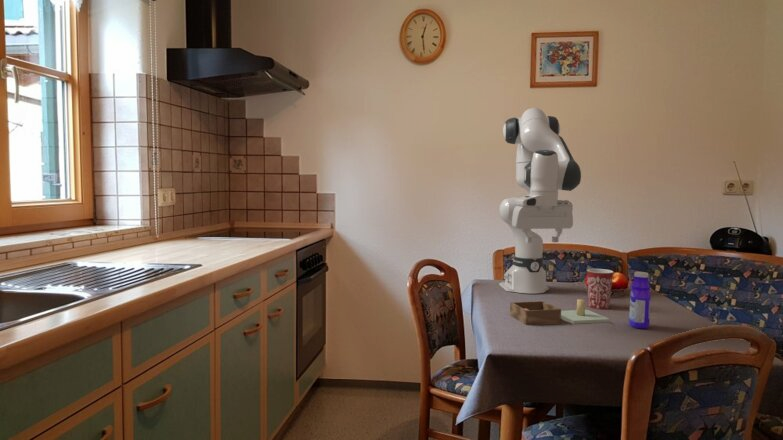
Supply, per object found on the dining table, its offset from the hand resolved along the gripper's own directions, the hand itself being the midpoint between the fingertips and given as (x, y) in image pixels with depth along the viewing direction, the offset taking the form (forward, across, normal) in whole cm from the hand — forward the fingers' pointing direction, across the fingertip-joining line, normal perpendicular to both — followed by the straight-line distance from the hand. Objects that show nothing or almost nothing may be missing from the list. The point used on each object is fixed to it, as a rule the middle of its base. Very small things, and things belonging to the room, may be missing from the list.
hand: (541, 242), depth 182 cm
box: (+26, +2, +2) cm, 26 cm away
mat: (+26, -14, +2) cm, 29 cm away
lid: (+25, -14, +2) cm, 29 cm away
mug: (+26, -32, -15) cm, 44 cm away
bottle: (+26, -28, +13) cm, 40 cm away
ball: (+25, +4, -1) cm, 26 cm away
